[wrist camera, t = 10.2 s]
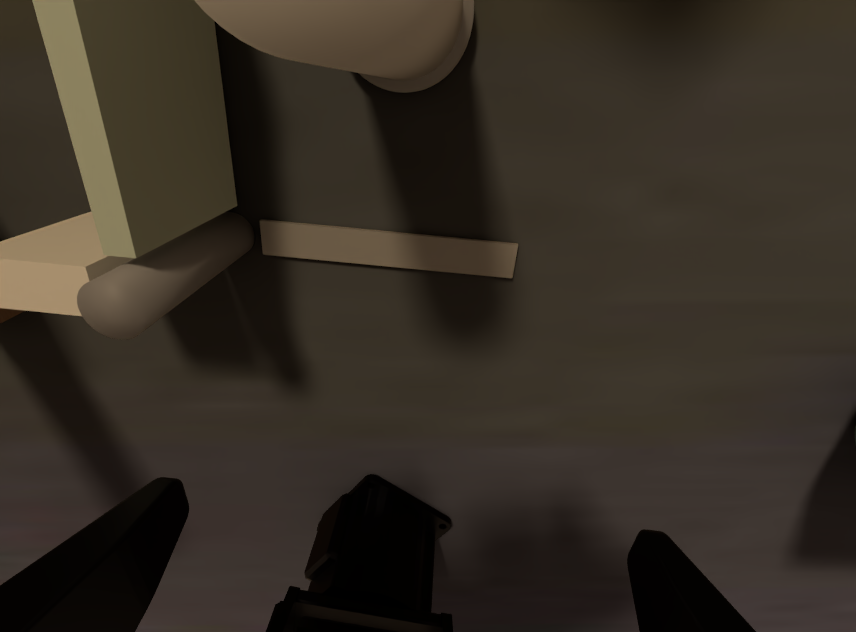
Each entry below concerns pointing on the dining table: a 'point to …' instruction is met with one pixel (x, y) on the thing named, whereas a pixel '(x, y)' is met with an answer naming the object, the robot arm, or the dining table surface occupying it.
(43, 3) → the beige flat block
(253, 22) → the beige dome-topped cylinder
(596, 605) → the dining table surface
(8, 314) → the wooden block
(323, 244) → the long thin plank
